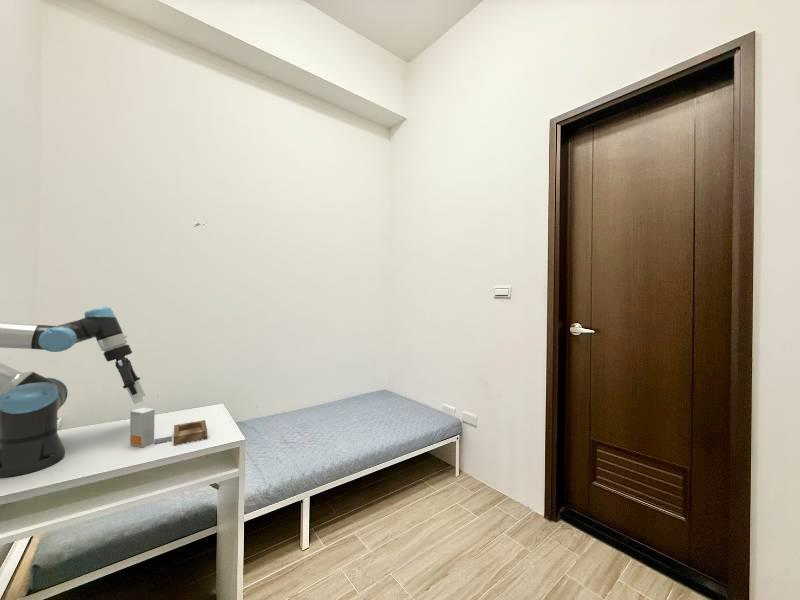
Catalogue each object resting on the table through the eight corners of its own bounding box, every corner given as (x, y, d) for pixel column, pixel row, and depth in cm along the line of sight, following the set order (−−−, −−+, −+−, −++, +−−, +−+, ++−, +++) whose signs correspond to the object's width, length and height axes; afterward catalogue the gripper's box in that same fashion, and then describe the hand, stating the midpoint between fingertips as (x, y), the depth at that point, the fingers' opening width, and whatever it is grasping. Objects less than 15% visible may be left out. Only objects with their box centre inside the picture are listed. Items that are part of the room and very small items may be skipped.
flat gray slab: (154, 444, 112) (154, 443, 112) (155, 440, 115) (155, 439, 115) (171, 441, 115) (171, 440, 115) (172, 436, 118) (172, 436, 118)
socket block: (173, 445, 111) (173, 436, 111) (174, 433, 121) (174, 425, 121) (207, 438, 117) (207, 430, 117) (204, 427, 127) (205, 419, 127)
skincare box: (129, 445, 111) (129, 410, 111) (142, 440, 115) (142, 406, 115) (142, 448, 109) (142, 412, 109) (154, 442, 113) (155, 408, 113)
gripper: (124, 343, 111) (150, 399, 114) (130, 343, 131) (153, 390, 134) (96, 353, 107) (124, 410, 109) (107, 351, 127) (130, 399, 129)
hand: (140, 399), depth 121 cm, fingers open, 13 cm apart
